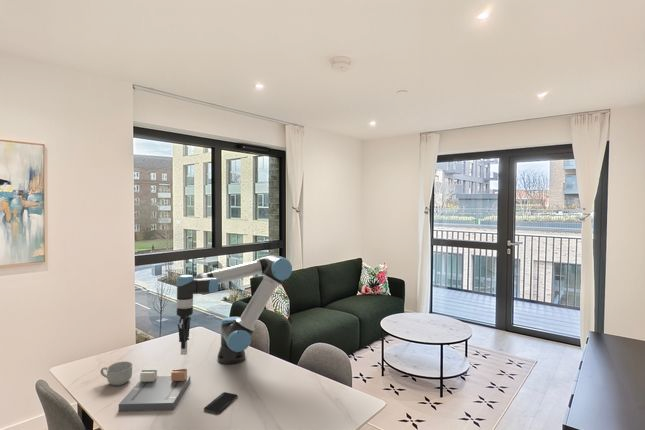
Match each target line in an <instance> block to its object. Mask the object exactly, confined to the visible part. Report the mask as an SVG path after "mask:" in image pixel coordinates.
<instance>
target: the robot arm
mask: <svg viewBox="0 0 645 430" xmlns="http://www.w3.org/2000/svg"><path fill="white" fill-rule="evenodd" d="M292 271H293V266H292V263H291V261H290V260H289V259H288V258H286V257H284V256H280V255H277V254H270V255H267V256H263V257H259V258H256V260H255V261H251V262H250V261H249V262H246V263H242V264H237V265H235V266H229V267H226V268H220V269H218V270H217V269H216V270H213V271H209V272H199V273H197V275H196V276H195V278H194V275H192V274H183V275H182V274H181V275H179V276H178V277H177V283H176V300H175V302H176V316H178V317H179V322H178V323H179V324H178V325H177V328H178V329H177V330H178V339H179V341H178V343H180V355H181V356H182V355H183V356H185V355H187V354H188V341H190V338H189V337H190V328H191V327H190V326H191V320H192V318H191V316H192V315H194V307H193V306H194V295H200V294H201V295H202V294H204V295H205V294H214V293H217V292H218V291H219V285H221V284H224V283H228V282H232V281H236V280H240V279H244V278H249V277H250V276H251V277H252V276H255V275H260V276H262V280H261V282H260V283H259V285H258V287H257V289H256V291H254V293H253V295H252V297H251V298H250V300H249V302H248V304H247V305H246V307H245V308H244V310H243V312H242V313H241V315H240V316H229V317H224V318H222V319H221V320H220V321H221V322H220V348H219V350H218V353H217V362H218V363H220V364H223V365H235V364H238V363H239V364H240V363H241V362H243V361H244V360H245V359H246V351H245V350H246V349H247V348H249V346H250V345H251V341H252V336H253V333H254V332H255V325H256V323H257V321H258V319H259V318H260V316H261V314H262V312H263V311H264V309H265V307H266V305H267V304H268V302H269V300H270V299H271V298H272V296H273V293H274V292H275V290H276V289H277V288H278V287H279V286H282V284H283V283H284V281H285V280H288V279H289V278H290V276H291V274H292Z"/></svg>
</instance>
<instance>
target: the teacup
mask: <svg viewBox="0 0 645 430" xmlns="http://www.w3.org/2000/svg"><path fill="white" fill-rule="evenodd" d="M104 370H105V371H106V373H105V371H104ZM100 375H101V376H102V377H104V378H106V380H107V383H109V384H110V385H113V386H116V387H118V386H122V385H124V384H126V383H127V382H128V381H130V380H131V378H132V376H133V363H132V362H131V361H127V360H126V361H118V362H115V363H113V364H110V365H109V366H103V367H102V368H101V369H100Z"/></svg>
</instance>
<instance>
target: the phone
mask: <svg viewBox="0 0 645 430" xmlns="http://www.w3.org/2000/svg"><path fill="white" fill-rule="evenodd" d="M237 399H238V394H236V393H230V392H226V391H225V392H222V393H220V394H219V395H218V396H217V397H215V399H213V400H212V401H211V402H210V403H208V404H207V405H206V406H205V407H204V408H203V412H205V413H208V414H214V415H220V414H221V413H222V412H223V411H224V410H226V409H227V408H228V407H230V405H231V404H232V403H233V402H234V401H236V400H237Z"/></svg>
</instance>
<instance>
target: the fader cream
mask: <svg viewBox="0 0 645 430" xmlns="http://www.w3.org/2000/svg"><path fill="white" fill-rule="evenodd" d="M139 374H140V376H139V378H140V379H139V381H140V382H146V381H154V380H155V379H156V378H157V376H158V369H157V368H149V369H148V368H144V369H142V370H141V372H140V373H139Z"/></svg>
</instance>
